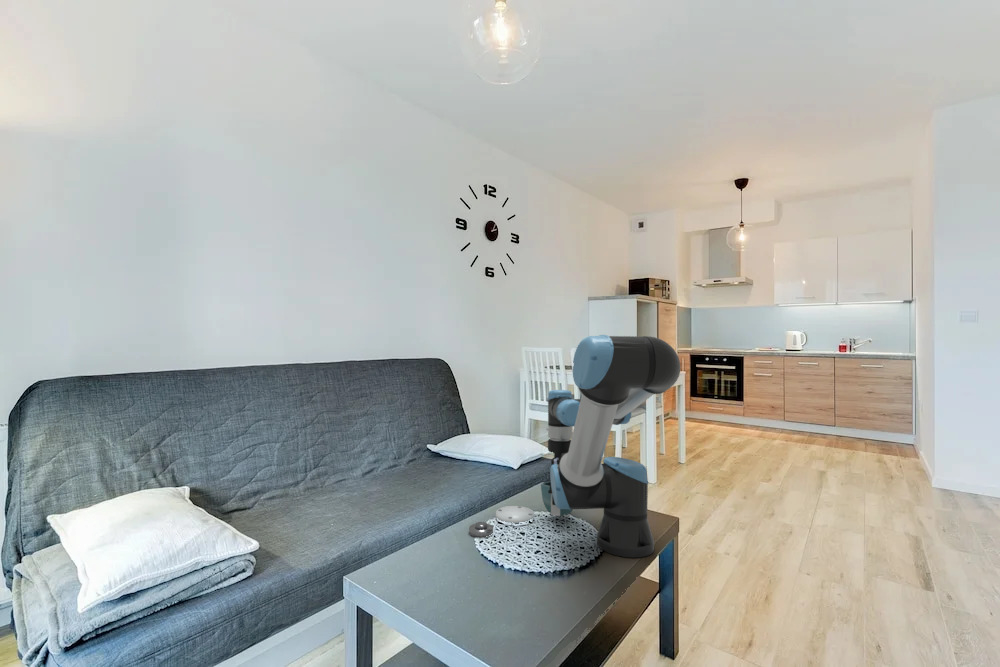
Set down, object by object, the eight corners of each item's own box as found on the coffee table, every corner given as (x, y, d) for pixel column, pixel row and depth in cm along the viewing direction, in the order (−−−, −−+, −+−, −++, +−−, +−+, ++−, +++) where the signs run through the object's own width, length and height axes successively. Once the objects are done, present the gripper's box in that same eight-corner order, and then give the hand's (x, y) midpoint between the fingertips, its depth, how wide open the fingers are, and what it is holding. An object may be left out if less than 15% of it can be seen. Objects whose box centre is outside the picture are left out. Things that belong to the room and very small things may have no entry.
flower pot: (558, 506, 150) (558, 479, 151) (579, 514, 143) (579, 484, 144) (539, 512, 145) (539, 483, 145) (560, 520, 138) (560, 489, 138)
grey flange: (538, 514, 148) (538, 508, 148) (528, 528, 136) (528, 521, 136) (502, 510, 152) (503, 503, 152) (490, 523, 140) (490, 516, 140)
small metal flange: (496, 530, 135) (496, 521, 135) (488, 539, 128) (488, 530, 128) (474, 526, 137) (474, 518, 137) (465, 535, 131) (465, 526, 131)
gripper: (555, 432, 158) (555, 497, 156) (539, 444, 135) (538, 519, 134) (577, 434, 155) (577, 499, 154) (564, 446, 133) (564, 523, 132)
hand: (559, 509), depth 144 cm, fingers closed on flower pot, 11 cm apart
